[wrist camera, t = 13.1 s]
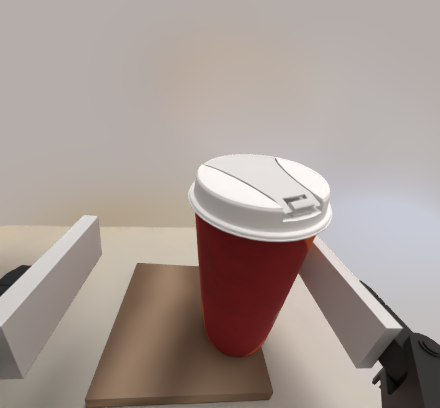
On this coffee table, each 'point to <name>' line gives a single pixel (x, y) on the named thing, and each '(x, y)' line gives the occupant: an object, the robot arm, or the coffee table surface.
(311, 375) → the coffee table surface
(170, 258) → the coffee table surface
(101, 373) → the walnut pad
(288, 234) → the paper cup
